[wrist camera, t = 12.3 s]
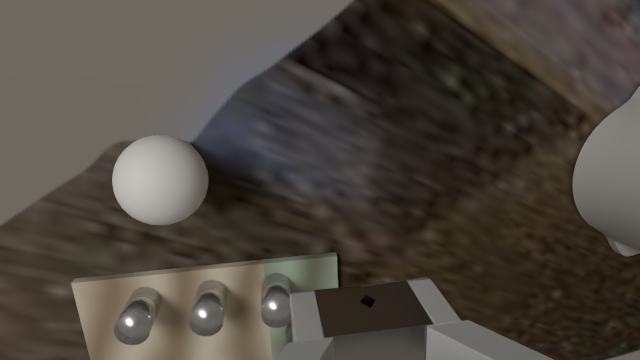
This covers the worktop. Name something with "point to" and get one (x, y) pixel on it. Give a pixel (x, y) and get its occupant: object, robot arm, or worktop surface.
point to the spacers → (202, 309)
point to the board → (177, 301)
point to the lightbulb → (160, 180)
